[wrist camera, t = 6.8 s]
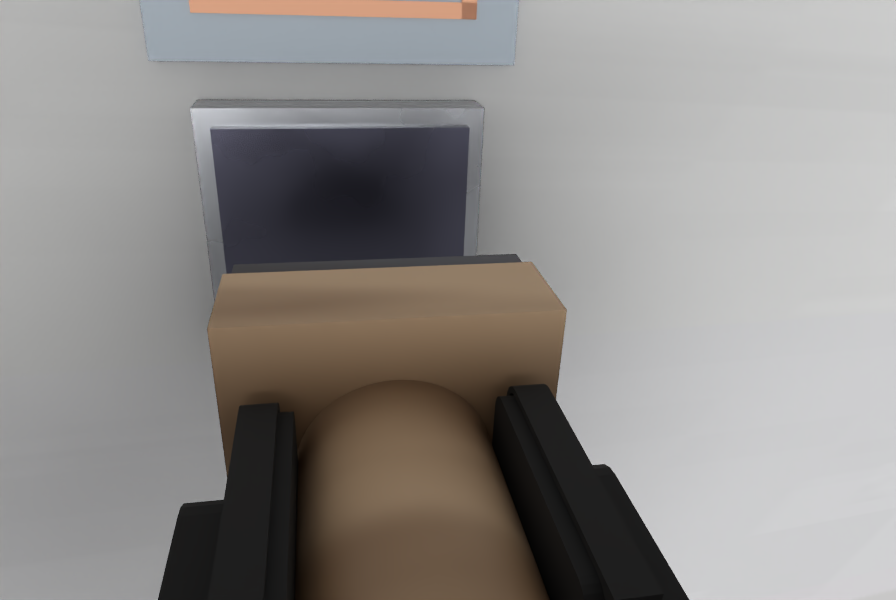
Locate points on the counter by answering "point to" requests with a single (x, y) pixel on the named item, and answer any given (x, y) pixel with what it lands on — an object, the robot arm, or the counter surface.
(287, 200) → the ink pad
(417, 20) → the card
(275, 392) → the stamp
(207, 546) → the robot arm
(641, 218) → the counter surface
